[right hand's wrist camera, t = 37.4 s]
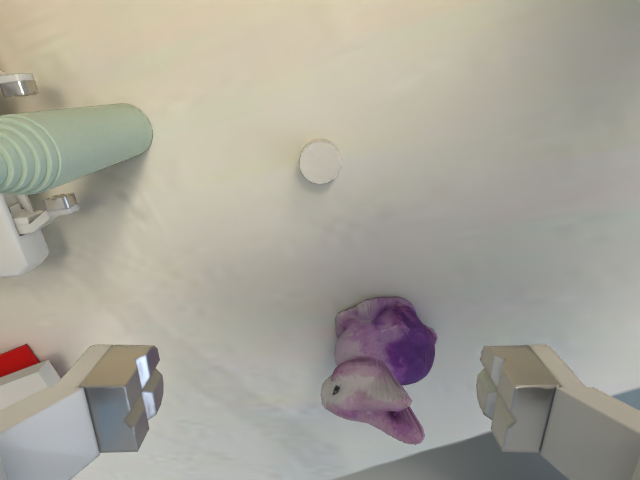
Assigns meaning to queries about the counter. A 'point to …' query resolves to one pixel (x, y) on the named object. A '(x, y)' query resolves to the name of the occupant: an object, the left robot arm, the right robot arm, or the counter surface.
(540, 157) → the counter surface
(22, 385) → the toy
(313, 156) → the cap
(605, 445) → the right robot arm
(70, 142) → the bottle
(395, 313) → the figurine
